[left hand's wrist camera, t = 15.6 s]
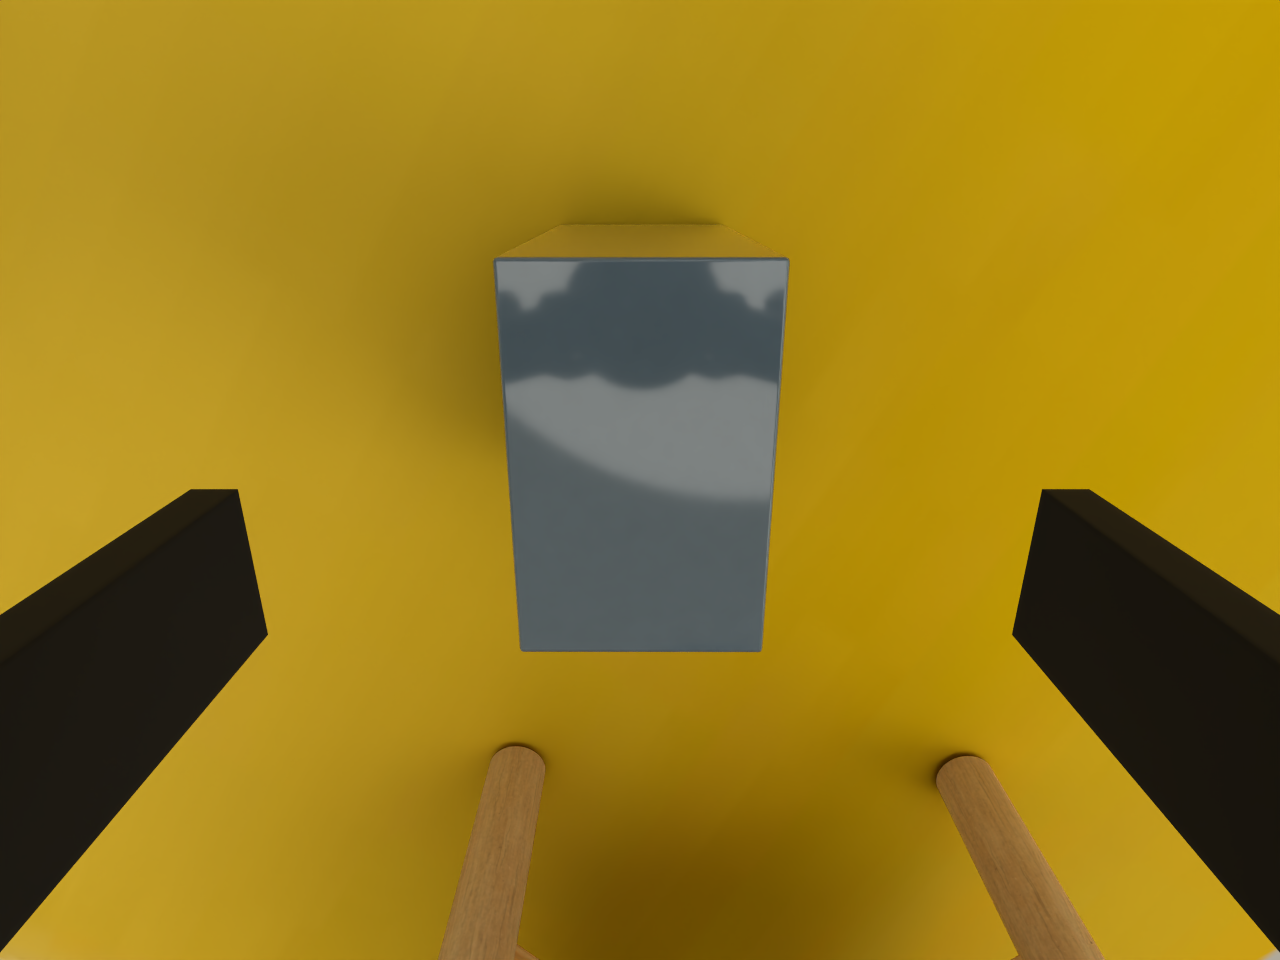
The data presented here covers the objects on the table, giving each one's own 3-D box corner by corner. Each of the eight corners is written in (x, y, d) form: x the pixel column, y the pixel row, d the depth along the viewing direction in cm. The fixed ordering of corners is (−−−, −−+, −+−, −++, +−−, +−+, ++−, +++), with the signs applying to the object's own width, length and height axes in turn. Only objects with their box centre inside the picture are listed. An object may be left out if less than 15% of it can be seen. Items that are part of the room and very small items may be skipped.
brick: (567, 468, 28) (519, 653, 17) (558, 224, 25) (491, 256, 14) (715, 468, 28) (762, 653, 17) (724, 224, 25) (791, 257, 14)
